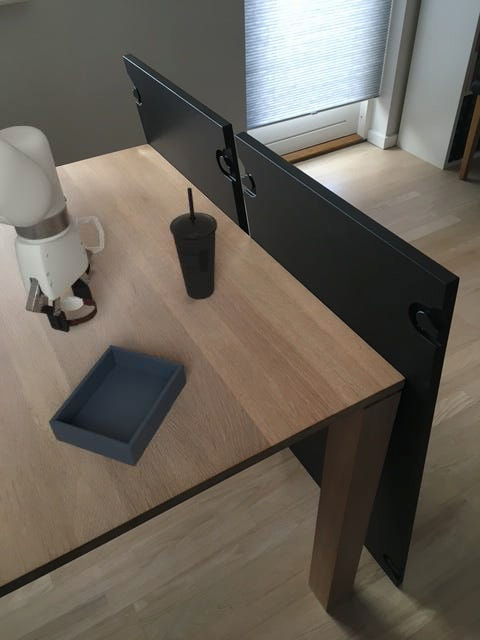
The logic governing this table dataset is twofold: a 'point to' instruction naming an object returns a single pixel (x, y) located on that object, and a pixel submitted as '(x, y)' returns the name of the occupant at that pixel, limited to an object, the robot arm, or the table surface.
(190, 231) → the drinking cup
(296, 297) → the table surface
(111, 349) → the tray
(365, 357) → the table surface
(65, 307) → the watch
